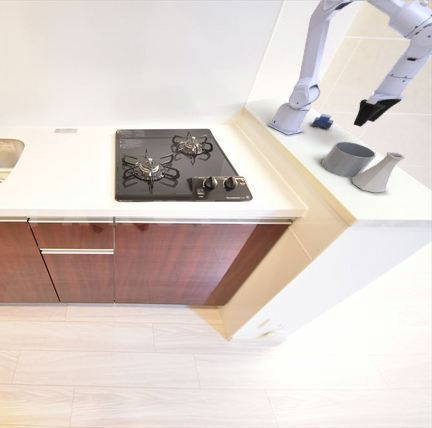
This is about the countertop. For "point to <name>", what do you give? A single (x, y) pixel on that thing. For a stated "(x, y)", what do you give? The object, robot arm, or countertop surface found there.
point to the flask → (378, 174)
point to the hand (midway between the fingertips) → (363, 123)
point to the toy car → (323, 121)
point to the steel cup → (348, 159)
